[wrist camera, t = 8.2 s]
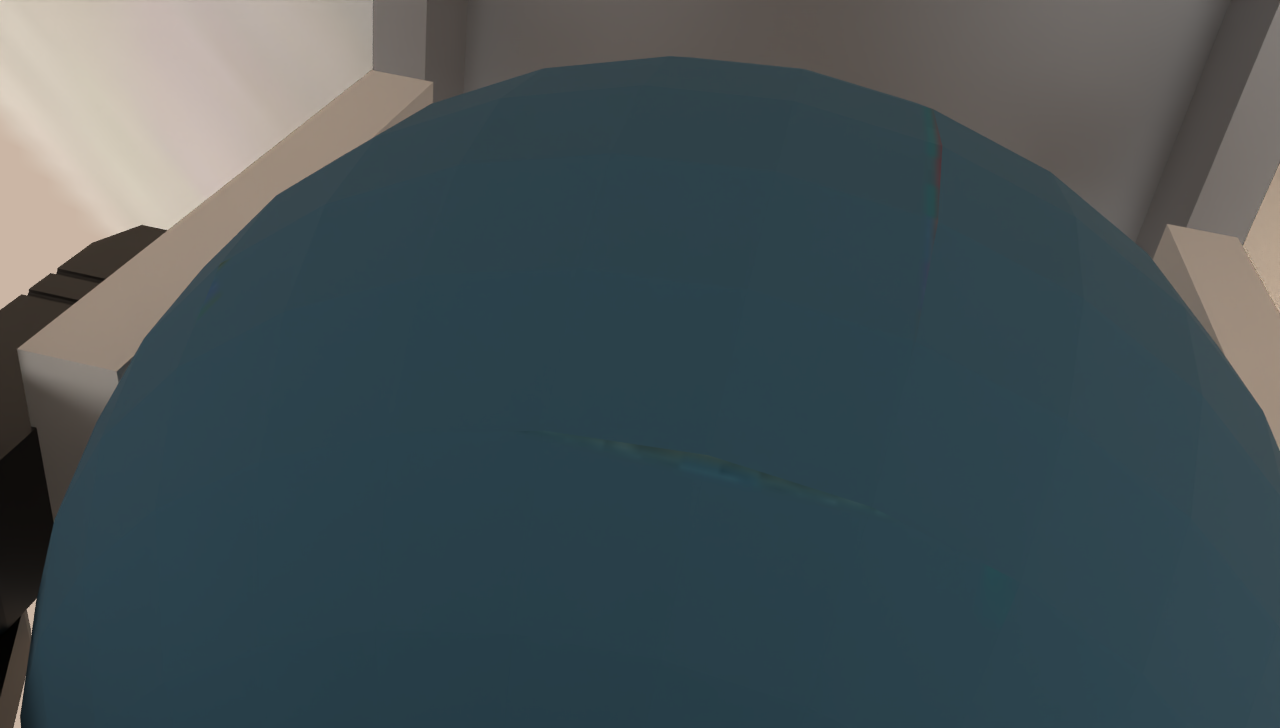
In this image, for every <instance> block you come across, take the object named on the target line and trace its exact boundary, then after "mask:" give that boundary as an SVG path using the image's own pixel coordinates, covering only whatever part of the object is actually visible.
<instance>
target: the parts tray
mask: <svg viewBox="0 0 1280 728" xmlns="http://www.w3.org/2000/svg"><path fill="white" fill-rule="evenodd" d="M665 56H677V57H693V58H703V59H713V60H723V61H733V62H742V63H752V64H762V65H772V66H782V67H792V68H802V69H807V70H810V71H814V72H817V73H820V74H823V75H827V76H830V77H833V78H837V79H840V80H843V81H846V82H850V83H853V84H856V85H860V86H863V87H866V88H870V89H873V90H876V91H879V92H883V93H886V94H889V95H893V96H896V97H899V98H903V99H906V100H909V101H912V102H916V103H918V104H921V105H924V106H926V107H929V108H932V109H934V110H936V111H938V112H940V113H941V114H943V115H945V116H947V117H949V118H951V119H953V120H955V121H956V122H958V123H960V124H962V125H964V126H966V127H968V128H969V129H971V130H973V131H975V132H977V133H979V134H981V135H983V136H984V137H986V138H988V139H990V140H992V141H994V142H996V143H998V144H999V145H1001V146H1003V147H1005V148H1007V149H1009V150H1011V151H1012V152H1014V153H1016V154H1018V155H1020V156H1022V157H1024V158H1026V159H1027V160H1029V161H1031V162H1033V163H1035V164H1037V165H1039V166H1041V167H1042V168H1044V169H1046V170H1048V171H1050V172H1051V173H1053V174H1054V175H1055V176H1056V177H1057V178H1059V179H1060V180H1061V181H1062V182H1063V183H1065V184H1066V185H1067V186H1068V187H1069V188H1071V189H1072V190H1073V191H1074V192H1075V193H1076V194H1078V195H1079V196H1080V197H1081V198H1082V199H1084V200H1085V201H1086V202H1087V203H1088V204H1090V205H1091V206H1092V207H1093V208H1094V209H1096V210H1097V211H1098V212H1099V213H1100V214H1101V215H1103V216H1104V217H1105V218H1106V219H1107V220H1109V221H1110V222H1111V223H1112V224H1113V225H1115V226H1116V227H1117V228H1118V229H1119V230H1121V231H1122V232H1123V233H1124V234H1125V235H1127V236H1128V237H1129V238H1130V239H1131V240H1132V241H1134V242H1135V243H1136V244H1137V245H1138V246H1140V247H1141V248H1142V249H1143V250H1144V251H1146V252H1147V253H1148V254H1149V256H1150V257H1151V258H1152V260H1153V258H1154V255H1155V253H1156V250H1157V248H1158V245H1159V243H1160V240H1161V238H1162V235H1163V233H1164V230H1165V228H1166V226H1167V224H1170V225H1175V226H1180V227H1185V228H1191V229H1196V230H1201V231H1206V232H1211V233H1216V234H1222V235H1227V236H1232V237H1237V238H1238V239H1239V241H1240V243H1241V244H1242V246H1243V243H1244V241H1245V239H1246V237H1247V234H1248V232H1249V230H1250V228H1251V226H1252V223H1253V221H1254V219H1255V217H1256V214H1257V212H1258V210H1259V208H1260V206H1261V203H1262V201H1263V199H1264V197H1265V194H1266V192H1267V190H1268V188H1269V185H1270V183H1271V181H1272V179H1273V177H1274V174H1275V172H1276V170H1277V168H1278V165H1279V163H1280V0H373V70H374V71H379V72H384V73H389V74H394V75H400V76H405V77H410V78H415V79H420V80H425V81H431V82H433V103H435V102H438V101H441V100H444V99H448V98H451V97H454V96H457V95H460V94H463V93H467V92H470V91H473V90H476V89H479V88H482V87H486V86H489V85H492V84H495V83H498V82H502V81H505V80H508V79H511V78H514V77H517V76H521V75H524V74H527V73H530V72H533V71H536V70H540V69H543V68H552V67H562V66H573V65H583V64H593V63H604V62H614V61H624V60H635V59H645V58H655V57H665Z"/></svg>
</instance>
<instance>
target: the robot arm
mask: <svg viewBox="0 0 1280 728" xmlns="http://www.w3.org/2000/svg"><path fill="white" fill-rule="evenodd" d="M432 103H433V82H431V81H425V80H420V79H415V78H410V77H405V76H400V75H394V74H389V73H384V72H379V71H374V70H371V71H370V72H368V73H367V74H366V75H365V76H363V77H362V78H361V79H359V80H358V81H357V82H356V83H354V84H353V85H352V86H351V87H349V88H348V89H347V90H345V91H344V92H343V93H342V94H340V95H339V96H338V97H337V98H335V99H334V100H333V101H332V102H330V103H329V104H328V105H326V106H325V107H324V108H323V109H321V110H320V111H319V112H318V113H316V114H315V115H314V116H312V117H311V118H310V119H309V120H307V121H306V122H305V123H304V124H302V125H301V126H300V127H298V128H297V129H296V130H295V131H293V132H292V133H291V134H290V135H288V136H287V137H286V138H284V139H283V140H282V141H281V142H279V143H278V144H277V145H276V146H274V147H273V148H272V149H270V150H269V151H268V152H267V153H265V154H264V155H263V156H262V157H260V158H259V159H258V160H257V161H255V162H254V163H253V164H251V165H250V166H249V167H248V168H246V169H245V170H244V171H243V172H241V173H240V174H239V175H237V176H236V177H235V178H234V179H232V180H231V181H230V182H229V183H227V184H226V185H225V186H223V187H222V188H221V189H220V190H218V191H217V192H216V193H215V194H213V195H212V196H211V197H209V198H208V199H207V200H206V201H204V202H203V203H202V204H201V205H199V206H198V207H197V208H195V209H194V210H193V211H192V212H190V213H189V214H188V215H187V216H185V217H184V218H183V219H182V220H180V221H179V222H178V223H176V224H175V225H174V226H173V227H171V228H170V229H169V230H163V229H158V228H154V227H149V226H144V225H141V226H138V227H135V228H132V229H129V230H127V231H124V232H121V233H118V234H116V235H113V236H110V237H107V238H105V239H102V240H99V241H96V242H93V243H91V244H90V245H89V246H87V247H86V248H85V249H83V250H82V251H81V252H79V253H78V254H76V255H75V256H74V257H72V258H71V259H70V260H68V261H67V262H66V263H64V264H63V265H61V266H60V267H59V268H58V270H57V274H51V273H50V274H49V275H48V276H46V277H45V278H44V279H42V280H41V281H39V282H38V283H37V284H35V285H34V286H33V287H31V288H30V289H29V293H28V295H27V296H26V295H20V296H19V297H17V298H16V299H15V300H13V301H12V302H11V303H9V304H8V305H7V306H5V307H4V308H2V309H1V310H0V728H13V727H14V722H15V718H16V714H17V710H18V706H19V701H20V697H21V693H22V689H23V685H24V681H25V676H26V672H27V664H28V657H29V650H30V643H31V628H30V623H29V619H28V614H27V608H28V607H29V606H30V605H31V604H32V603H33V602H34V601H35V599H36V598H37V596H38V591H39V587H40V582H41V578H42V573H43V569H44V565H45V560H46V556H47V551H48V547H49V542H50V538H51V533H52V529H53V524H54V520H55V517H56V515H57V512H58V510H59V508H60V505H61V503H62V501H63V498H64V496H65V494H66V491H67V489H68V487H69V485H70V482H71V480H72V478H73V475H74V473H75V471H76V468H77V466H78V464H79V461H80V459H81V457H82V454H83V452H84V450H85V447H86V445H87V443H88V441H89V438H90V436H91V434H92V431H93V429H94V427H95V424H96V422H97V420H98V418H99V417H100V415H101V413H102V411H103V410H104V408H105V406H106V404H107V402H108V401H109V399H110V397H111V395H112V394H113V392H114V390H115V388H116V387H117V385H118V383H119V381H120V380H121V378H122V376H123V374H124V373H125V371H126V369H127V367H128V365H129V364H130V362H131V360H132V358H133V357H134V355H135V353H136V351H137V350H138V348H139V346H140V344H141V343H142V341H143V339H144V338H145V336H146V335H147V334H148V333H149V332H150V330H151V329H152V328H153V327H154V326H155V324H156V323H157V322H158V321H159V320H160V318H161V317H162V316H163V315H164V314H165V313H166V311H167V310H168V309H169V308H170V307H171V305H172V304H173V303H174V302H175V301H176V299H177V298H178V297H179V296H180V295H181V293H182V292H183V291H184V290H185V289H186V287H187V286H188V285H189V284H190V283H191V281H192V280H193V279H194V278H195V277H196V275H197V274H198V273H199V272H200V271H201V269H202V268H203V267H204V266H205V265H206V264H207V263H208V262H209V261H210V260H211V259H212V258H213V257H214V256H215V255H216V254H217V253H218V252H219V251H220V250H221V249H222V248H223V247H224V246H226V245H227V244H228V243H229V242H230V241H231V240H232V239H233V238H234V237H235V236H236V235H237V234H238V233H239V232H240V231H241V230H242V229H243V228H244V227H245V226H246V225H247V224H248V223H249V222H250V221H251V220H252V219H253V218H254V217H255V216H256V215H257V214H258V213H259V212H260V211H261V210H262V209H263V208H264V207H265V206H266V205H267V204H268V203H269V202H270V201H271V200H272V199H273V198H274V197H275V196H276V195H278V194H279V193H281V192H283V191H284V190H286V189H288V188H289V187H291V186H293V185H294V184H296V183H298V182H299V181H301V180H303V179H304V178H306V177H308V176H309V175H311V174H313V173H314V172H316V171H318V170H319V169H321V168H323V167H324V166H326V165H328V164H329V163H331V162H333V161H334V160H336V159H338V158H339V157H341V156H343V155H344V154H346V153H348V152H350V151H351V150H353V149H355V148H356V147H358V146H360V145H361V144H363V143H365V142H367V141H368V140H370V139H372V138H373V137H375V136H377V135H379V134H380V133H382V132H384V131H385V130H387V129H389V128H391V127H392V126H394V125H396V124H397V123H399V122H401V121H402V120H404V119H406V118H408V117H409V116H411V115H413V114H414V113H416V112H418V111H420V110H421V109H423V108H425V107H426V106H428V105H430V104H432ZM1153 261H1154V262H1155V264H1156V265H1157V266H1158V268H1159V269H1160V270H1161V271H1162V273H1163V274H1164V275H1165V277H1166V278H1167V279H1168V281H1169V282H1170V283H1171V285H1172V286H1173V287H1174V289H1175V290H1176V291H1177V293H1178V294H1179V295H1180V297H1181V298H1182V299H1183V301H1184V302H1185V303H1186V304H1187V306H1188V307H1189V308H1190V310H1191V311H1192V312H1193V314H1194V315H1195V316H1196V318H1197V319H1198V320H1199V322H1200V323H1201V324H1202V326H1203V327H1204V328H1205V330H1206V331H1207V332H1208V333H1209V335H1210V336H1211V337H1212V339H1213V340H1214V341H1215V343H1216V344H1217V345H1218V347H1219V348H1220V350H1221V351H1222V353H1223V354H1224V355H1225V357H1226V358H1227V360H1228V361H1229V363H1230V364H1231V365H1232V367H1233V368H1234V370H1235V371H1236V373H1237V374H1238V376H1239V377H1240V378H1241V380H1242V381H1243V383H1244V384H1245V386H1246V387H1247V388H1248V390H1249V391H1250V393H1251V394H1252V396H1253V397H1254V399H1255V400H1256V401H1257V403H1258V404H1259V406H1260V407H1261V409H1262V410H1263V412H1264V414H1265V416H1266V419H1267V421H1268V424H1269V426H1270V428H1271V431H1272V433H1273V435H1274V438H1275V440H1276V443H1277V445H1278V447H1279V450H1280V314H1279V312H1278V310H1277V308H1276V306H1275V304H1274V303H1273V301H1272V299H1271V297H1270V295H1269V294H1268V292H1267V290H1266V288H1265V286H1264V284H1263V283H1262V281H1261V279H1260V277H1259V275H1258V274H1257V272H1256V270H1255V268H1254V266H1253V264H1252V263H1251V261H1250V259H1249V257H1248V255H1247V254H1246V252H1245V250H1244V248H1243V246H1242V244H1241V243H1240V241H1239V239H1238V238H1237V237H1232V236H1227V235H1222V234H1216V233H1211V232H1206V231H1201V230H1196V229H1191V228H1185V227H1180V226H1175V225H1170V224H1167V226H1166V228H1165V230H1164V233H1163V235H1162V238H1161V240H1160V243H1159V245H1158V248H1157V250H1156V253H1155V255H1154V258H1153Z"/></svg>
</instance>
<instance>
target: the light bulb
mask: <svg viewBox="0 0 1280 728" xmlns="http://www.w3.org/2000/svg"><path fill="white" fill-rule="evenodd" d="M20 719H21V728H1280V450H1279V447H1278V445H1277V443H1276V440H1275V438H1274V435H1273V433H1272V431H1271V428H1270V426H1269V424H1268V421H1267V419H1266V416H1265V414H1264V412H1263V410H1262V409H1261V407H1260V406H1259V404H1258V403H1257V401H1256V400H1255V399H1254V397H1253V396H1252V394H1251V393H1250V391H1249V390H1248V388H1247V387H1246V386H1245V384H1244V383H1243V381H1242V380H1241V378H1240V377H1239V376H1238V374H1237V373H1236V371H1235V370H1234V368H1233V367H1232V365H1231V364H1230V363H1229V361H1228V360H1227V358H1226V357H1225V355H1224V354H1223V353H1222V351H1221V350H1220V348H1219V347H1218V345H1217V344H1216V343H1215V341H1214V340H1213V339H1212V337H1211V336H1210V335H1209V333H1208V332H1207V331H1206V330H1205V328H1204V327H1203V326H1202V324H1201V323H1200V322H1199V320H1198V319H1197V318H1196V316H1195V315H1194V314H1193V312H1192V311H1191V310H1190V308H1189V307H1188V306H1187V304H1186V303H1185V302H1184V301H1183V299H1182V298H1181V297H1180V295H1179V294H1178V293H1177V291H1176V290H1175V289H1174V287H1173V286H1172V285H1171V283H1170V282H1169V281H1168V279H1167V278H1166V277H1165V275H1164V274H1163V273H1162V271H1161V270H1160V269H1159V268H1158V266H1157V265H1156V264H1155V262H1154V261H1153V260H1152V258H1151V257H1150V256H1149V254H1148V253H1147V252H1146V251H1144V250H1143V249H1142V248H1141V247H1140V246H1138V245H1137V244H1136V243H1135V242H1134V241H1132V240H1131V239H1130V238H1129V237H1128V236H1127V235H1125V234H1124V233H1123V232H1122V231H1121V230H1119V229H1118V228H1117V227H1116V226H1115V225H1113V224H1112V223H1111V222H1110V221H1109V220H1107V219H1106V218H1105V217H1104V216H1103V215H1101V214H1100V213H1099V212H1098V211H1097V210H1096V209H1094V208H1093V207H1092V206H1091V205H1090V204H1088V203H1087V202H1086V201H1085V200H1084V199H1082V198H1081V197H1080V196H1079V195H1078V194H1076V193H1075V192H1074V191H1073V190H1072V189H1071V188H1069V187H1068V186H1067V185H1066V184H1065V183H1063V182H1062V181H1061V180H1060V179H1059V178H1057V177H1056V176H1055V175H1054V174H1053V173H1051V172H1050V171H1048V170H1046V169H1044V168H1042V167H1041V166H1039V165H1037V164H1035V163H1033V162H1031V161H1029V160H1027V159H1026V158H1024V157H1022V156H1020V155H1018V154H1016V153H1014V152H1012V151H1011V150H1009V149H1007V148H1005V147H1003V146H1001V145H999V144H998V143H996V142H994V141H992V140H990V139H988V138H986V137H984V136H983V135H981V134H979V133H977V132H975V131H973V130H971V129H969V128H968V127H966V126H964V125H962V124H960V123H958V122H956V121H955V120H953V119H951V118H949V117H947V116H945V115H943V114H941V113H940V112H938V111H936V110H934V109H932V108H929V107H926V106H924V105H921V104H918V103H916V102H912V101H909V100H906V99H903V98H899V97H896V96H893V95H889V94H886V93H883V92H879V91H876V90H873V89H870V88H866V87H863V86H860V85H856V84H853V83H850V82H846V81H843V80H840V79H837V78H833V77H830V76H827V75H823V74H820V73H817V72H814V71H810V70H807V69H802V68H792V67H782V66H772V65H762V64H752V63H742V62H733V61H723V60H713V59H703V58H693V57H677V56H665V57H655V58H645V59H635V60H624V61H614V62H604V63H593V64H583V65H573V66H562V67H552V68H543V69H540V70H536V71H533V72H530V73H527V74H524V75H521V76H517V77H514V78H511V79H508V80H505V81H502V82H498V83H495V84H492V85H489V86H486V87H482V88H479V89H476V90H473V91H470V92H467V93H463V94H460V95H457V96H454V97H451V98H448V99H444V100H441V101H438V102H435V103H432V104H430V105H428V106H426V107H425V108H423V109H421V110H420V111H418V112H416V113H414V114H413V115H411V116H409V117H408V118H406V119H404V120H402V121H401V122H399V123H397V124H396V125H394V126H392V127H391V128H389V129H387V130H385V131H384V132H382V133H380V134H379V135H377V136H375V137H373V138H372V139H370V140H368V141H367V142H365V143H363V144H361V145H360V146H358V147H356V148H355V149H353V150H351V151H350V152H348V153H346V154H344V155H343V156H341V157H339V158H338V159H336V160H334V161H333V162H331V163H329V164H328V165H326V166H324V167H323V168H321V169H319V170H318V171H316V172H314V173H313V174H311V175H309V176H308V177H306V178H304V179H303V180H301V181H299V182H298V183H296V184H294V185H293V186H291V187H289V188H288V189H286V190H284V191H283V192H281V193H279V194H278V195H276V196H275V197H274V198H273V199H272V200H271V201H270V202H269V203H268V204H267V205H266V206H265V207H264V208H263V209H262V210H261V211H260V212H259V213H258V214H257V215H256V216H255V217H254V218H253V219H252V220H251V221H250V222H249V223H248V224H247V225H246V226H245V227H244V228H243V229H242V230H241V231H240V232H239V233H238V234H237V235H236V236H235V237H234V238H233V239H232V240H231V241H230V242H229V243H228V244H227V245H226V246H224V247H223V248H222V249H221V250H220V251H219V252H218V253H217V254H216V255H215V256H214V257H213V258H212V259H211V260H210V261H209V262H208V263H207V264H206V265H205V266H204V267H203V268H202V269H201V271H200V272H199V273H198V274H197V275H196V277H195V278H194V279H193V280H192V281H191V283H190V284H189V285H188V286H187V287H186V289H185V290H184V291H183V292H182V293H181V295H180V296H179V297H178V298H177V299H176V301H175V302H174V303H173V304H172V305H171V307H170V308H169V309H168V310H167V311H166V313H165V314H164V315H163V316H162V317H161V318H160V320H159V321H158V322H157V323H156V324H155V326H154V327H153V328H152V329H151V330H150V332H149V333H148V334H147V335H146V336H145V338H144V339H143V341H142V343H141V344H140V346H139V348H138V350H137V351H136V353H135V355H134V357H133V358H132V360H131V362H130V364H129V365H128V367H127V369H126V371H125V373H124V374H123V376H122V378H121V380H120V381H119V383H118V385H117V387H116V388H115V390H114V392H113V394H112V395H111V397H110V399H109V401H108V402H107V404H106V406H105V408H104V410H103V411H102V413H101V415H100V417H99V418H98V420H97V422H96V424H95V427H94V429H93V431H92V434H91V436H90V438H89V441H88V443H87V445H86V447H85V450H84V452H83V454H82V457H81V459H80V461H79V464H78V466H77V468H76V471H75V473H74V475H73V478H72V480H71V482H70V485H69V487H68V489H67V491H66V494H65V496H64V498H63V501H62V503H61V505H60V508H59V510H58V512H57V515H56V517H55V520H54V524H53V529H52V533H51V538H50V542H49V547H48V551H47V556H46V560H45V565H44V569H43V573H42V578H41V582H40V587H39V591H38V596H37V600H36V607H35V614H34V621H33V628H32V635H31V643H30V650H29V657H28V664H27V672H26V679H25V686H24V694H23V701H22V708H21V715H20Z"/></svg>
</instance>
